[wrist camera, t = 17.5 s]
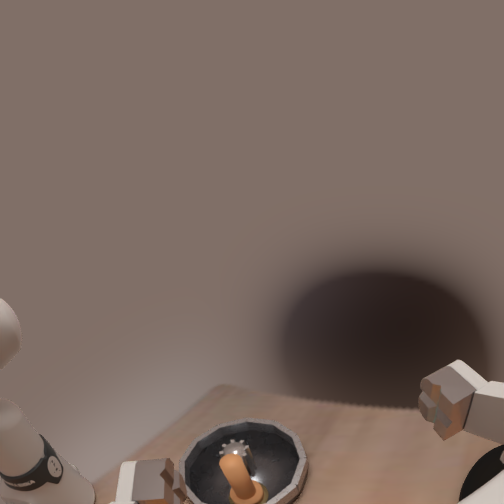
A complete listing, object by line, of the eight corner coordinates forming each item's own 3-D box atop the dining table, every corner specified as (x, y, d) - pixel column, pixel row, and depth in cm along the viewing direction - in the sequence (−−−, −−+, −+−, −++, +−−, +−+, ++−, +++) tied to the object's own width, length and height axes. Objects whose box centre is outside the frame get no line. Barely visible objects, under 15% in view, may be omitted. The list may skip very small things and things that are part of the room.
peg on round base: (240, 513, 35) (221, 481, 32) (227, 492, 39) (207, 457, 36) (269, 499, 37) (255, 465, 34) (255, 479, 41) (239, 443, 38)
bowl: (189, 532, 33) (170, 512, 31) (186, 444, 52) (172, 419, 50) (322, 504, 35) (319, 482, 33) (290, 420, 54) (283, 393, 52)
